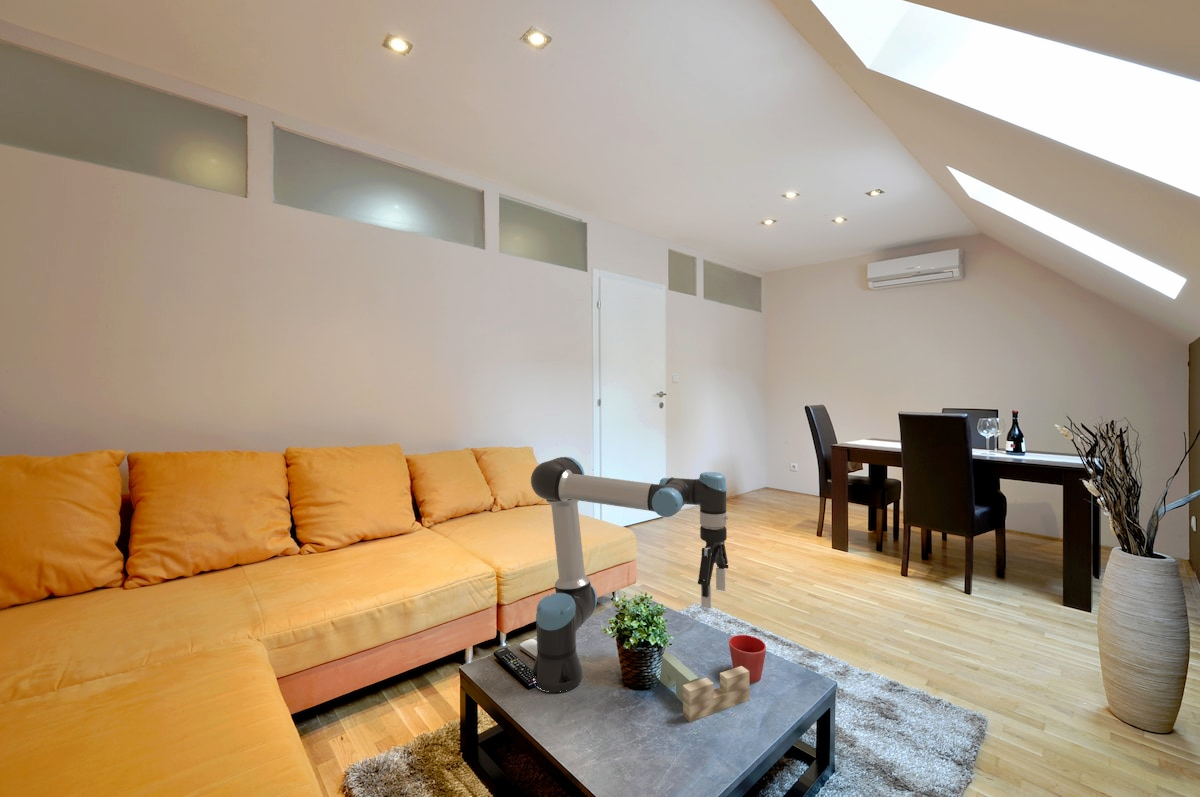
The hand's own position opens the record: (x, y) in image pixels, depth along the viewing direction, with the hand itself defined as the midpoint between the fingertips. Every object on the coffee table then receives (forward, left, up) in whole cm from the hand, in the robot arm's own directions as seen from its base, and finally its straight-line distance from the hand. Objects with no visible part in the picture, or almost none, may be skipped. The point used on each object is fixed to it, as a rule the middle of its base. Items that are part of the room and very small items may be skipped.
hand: (713, 598), depth 141 cm
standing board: (+2, -11, -25) cm, 27 cm away
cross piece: (-10, -7, -25) cm, 28 cm away
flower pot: (+9, +7, -25) cm, 27 cm away
